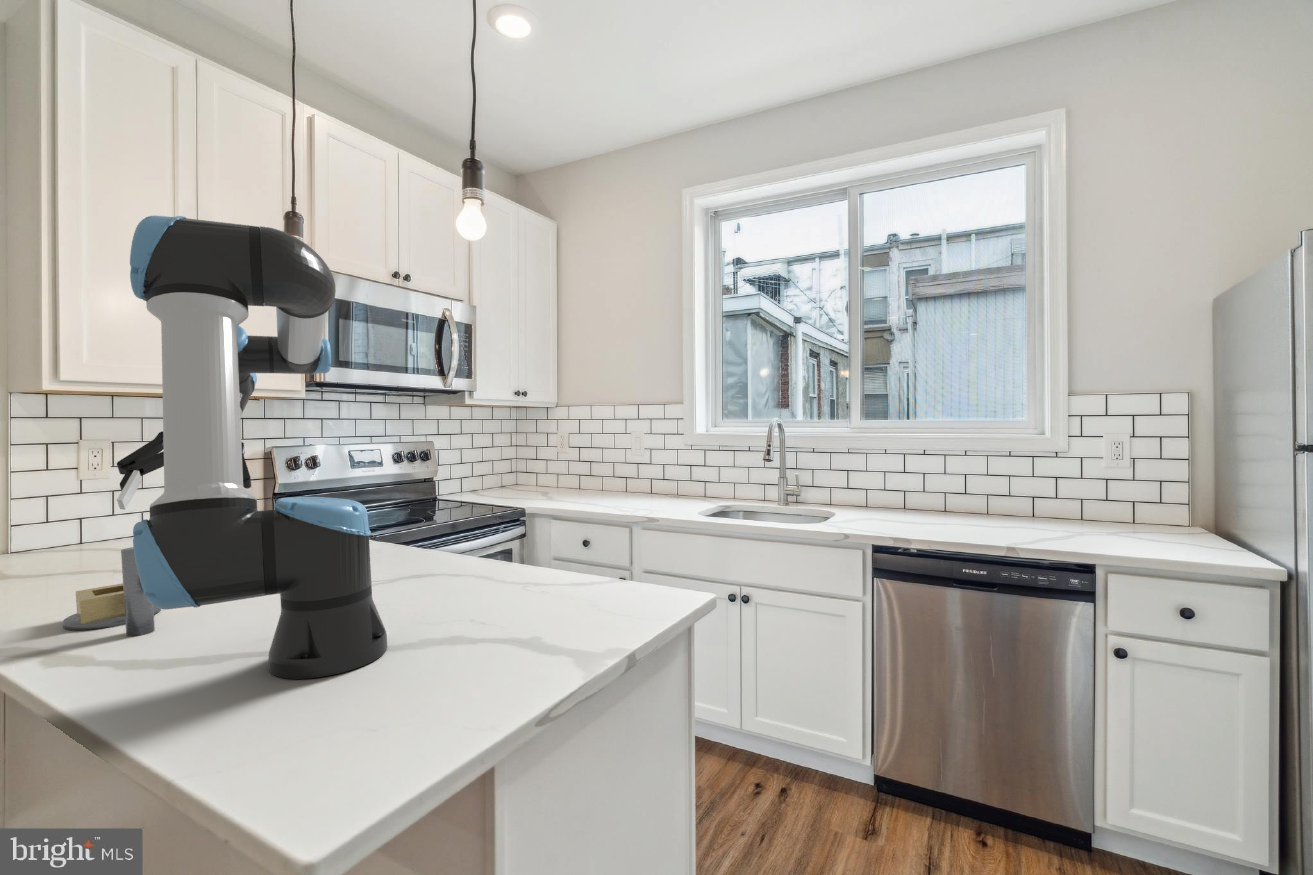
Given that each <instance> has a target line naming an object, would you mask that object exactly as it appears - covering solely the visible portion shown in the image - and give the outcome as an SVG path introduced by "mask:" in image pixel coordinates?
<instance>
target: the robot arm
mask: <svg viewBox="0 0 1313 875" xmlns="http://www.w3.org/2000/svg"><path fill="white" fill-rule="evenodd" d="M129 265H130V273H129V277H130V278H129V279H130V287H131V289H132V292H133V295H134V296H135V297H136V298H138V299H140V300H143V301H144V302H146V305H145V306H146V309H147V311H148V312H149V313H150V314H151V315H153V316H154V317H155V318H156V319H157V320H159V321H160V326H161V327H160V328H161V372H162V373H161V374H162V377H161V378H162V380H161V382H162V429H163V430H162V431H159V432H158V433H157V435H156V436H155V437H154V438H153V439H151V440H150V441H149V442H147V443H145V444H144V445H142V446H141V447H139V448H138V449H136V450H134V451H132V453H129V454H128V455H126V456H125V457H123V458H121V459H120V460H118V461H117V462H116V466H117V470H118V472H119V474H120V475H123V477H122V479H121V480H120V482H119V488H120V493H119V495H118V497H117V498H116V501H117V505H118V507H119V509H120V510H122V511H123V510H127V507H128V506H129V504H130V503H131V501H132V499H133V497H134V495H135V494H136V492H137V490H138V488H139V487H140V485H141V483H142V481H143V479H142V476H145V475H147V474H150V473H151V472H154V471H157V470H158V469H161V468H163V479H164V480H163V482H164V483H163V484H164V485H163V486H164V487H163V489H164V490H163V492H162V494H161V495H160V496H159V497H157V498H156V499H155V500H153V502H152V503H150V504H149V519H142V520H141V521H139V522H138V521H137V522H135V524H134V525H133V528H132V535H133V538H132V547H133V548H134V556H135V561H136V566H137V571H138V575H139V579H140V582H141V585H142V588H143V591H144V593H145V595H146V597H147V599H148V601H149V602H150V603H151V604H152V605H153V606H155V607H157V608H159V609H161V610H174V609H184V608H191V607H193V608H201V606H206V605H207V606H209V605H214V604H220V603H226V602H234V601H239V600H247V599H254V598H259V597H265V596H272V595H278V594H279V597H280V598H279V599H280V614H279V617H278V622H277V625H276V628H275V632H274V635H273V638H272V641H271V645H270V647H269V651H268V671H269V672H270V674H271V675H273V676H275V677H279V678H282V679H291V680H292V679H294V680H301V679H303V680H304V679H314V678H315V679H316V678H322V677H328V676H329V677H330V676H333V675H337V674H342V673H346V672H348V671H353V670H355V669H358V668H361V667H364V666H367V665H368V664H370V663H372V662H374V661H376V660H377V659H379V658H380V657H382V656H383V655H384V654H385V653H386V652H387V650H388V634H387V630H386V628H385V625H384V623H383V621H382V618H381V615H380V614H379V611H378V609H377V605H376V604H375V602H374V600H373V589H372V588H373V587H372V571H371V570H372V567H371V565H372V564H371V550H370V536H371V535H372V534H371V533H372V532H371V530H370V524H369V517H368V516H369V515H368V509H367V508H366V507H365V505H364V504H363V503H361V502H359V501H356V500H352V499H347V498H340V497H339V498H337V497H324V496H296V497H295V496H294V497H292V496H291V497H290V496H289V497H281V498H278V499H277V500H276V501H275V503H274V505H273V509H267V510H258V498H257V497H256V496H255V495H254V494H252V493H251V492H250V491H248V490H247V489H250V488H252V480H251V475H250V471H249V468H248V465H247V462H246V458H245V453H246V452H245V443H244V442H243V441H242V427H241V425H242V422H241V417H242V415H243V412H244V411H245V408H246V406H247V405H248V402H249V400H250V398H251V396H252V395H253V393H254V392H255V388H256V384H257V381H258V376H257V374H289V375H291V374H292V375H316V374H318V375H319V374H321V375H322V374H328V373H329V372H330V371H331V368H332V366H331V365H332V364H331V363H332V354H331V343H330V341H329V340H328V339H327V338H324V337H323V336H324V329H325V323H326V322H325V321H326V313H327V312H329V311H330V309H331V308H332V307H333V305H334V302H335V299H336V291H337V290H336V282H335V278H334V276H333V273H332V271H331V269H330V268H329V266H328V265H327V262H325V260H324V259H323V258H322V257H321V256H320V254H318V253H317V251H316V250H314V249H313V248H312V247H311V246H310V245H309V244H307V243H305V242H304V241H302V240H301V239H299V238H298V237H296V236H294V235H292V234H290V233H288V232H286V231H284V230H280V229H276V228H273V227H267V226H261V225H260V226H257V225H249V224H241V223H231V222H221V221H214V220H213V221H212V220H206V219H205V220H204V219H194V218H187V217H186V216H182V215H176V216H165V215H150V216H149V215H148V216H146V217H145V218H142V220H140V221H139V223H138V224H137V225H136V227H135V229H134V232H133V236H132V240H131V245H130V256H129ZM251 306H252V307H253V306H254V307H256V306H257V307H273V308H275V310H276V328H277V329H276V332H277V336H274V335H273V336H271V335H270V336H269V335H267V336H265V335H247V332H246V330H245V329H244V327H242V326H240V325H241V324H242V323H243V322H244V321H246V320H247V319H248V318H249V313H250V312H249V307H251Z"/></svg>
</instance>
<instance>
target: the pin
mask: <svg viewBox="0 0 1313 875" xmlns="http://www.w3.org/2000/svg"><path fill="white" fill-rule="evenodd" d="M120 555H121V558H120V559H121V571H122V574H121V575H122V583H123V590H124V606H125V622H126V624H125V633H126V637H140V636H143V635H148V634H151V633H153V632H155V629H156V628H155V615H154V609H153V605H152V604H151V603H150V602H149V601H148V599H147V597H146V595H145V593H144V591H143V588H142V585H141V582H140V579H139V575H138V571H137V566H136V561H135V556H134V548H133V546H132V547H127V548H123V549H120Z"/></svg>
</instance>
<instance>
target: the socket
mask: <svg viewBox="0 0 1313 875" xmlns="http://www.w3.org/2000/svg"><path fill="white" fill-rule="evenodd" d="M75 603H76V613H74V614H72V615H70V616H66V617H65V618H64V619H63V620H62V621H63V622H62V624H63V625H62V626H63V629H64V630H67V631H76V632H79V631H80V632H83V631H92V630H95V631H96V630H103V629H109V628H115V627H120V626H123V625H126V622H125V606H124V590H123V582H122V583H117V584H112V585H111V584H109V585H105V586H100V587H94V588H85V589H82V590H75ZM153 609H154V616H155V615H157V614H158V613H160V612H161V611H162V609H159V608H157V607H155V606H153Z"/></svg>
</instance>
